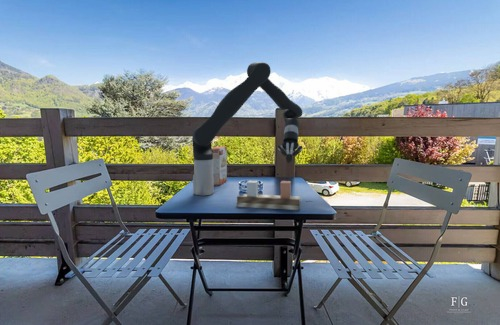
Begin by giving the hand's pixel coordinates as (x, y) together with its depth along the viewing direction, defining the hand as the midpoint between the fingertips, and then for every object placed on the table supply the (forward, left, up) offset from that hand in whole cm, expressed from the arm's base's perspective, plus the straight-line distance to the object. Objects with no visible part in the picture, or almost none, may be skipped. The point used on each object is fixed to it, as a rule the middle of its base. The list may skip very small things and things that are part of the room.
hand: (289, 161), depth 133 cm
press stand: (-7, -18, -16) cm, 25 cm away
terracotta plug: (0, -19, -14) cm, 24 cm away
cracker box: (-41, +16, -16) cm, 47 cm away
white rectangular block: (-14, -21, -14) cm, 29 cm away
